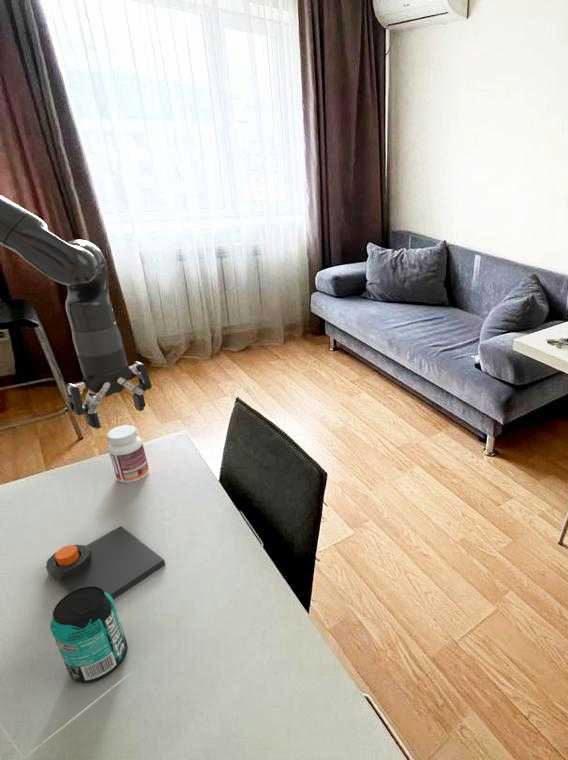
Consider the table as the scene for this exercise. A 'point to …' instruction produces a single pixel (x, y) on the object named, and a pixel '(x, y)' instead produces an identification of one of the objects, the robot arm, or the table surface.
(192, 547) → the table surface
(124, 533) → the scale
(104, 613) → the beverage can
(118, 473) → the pill bottle
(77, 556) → the button
